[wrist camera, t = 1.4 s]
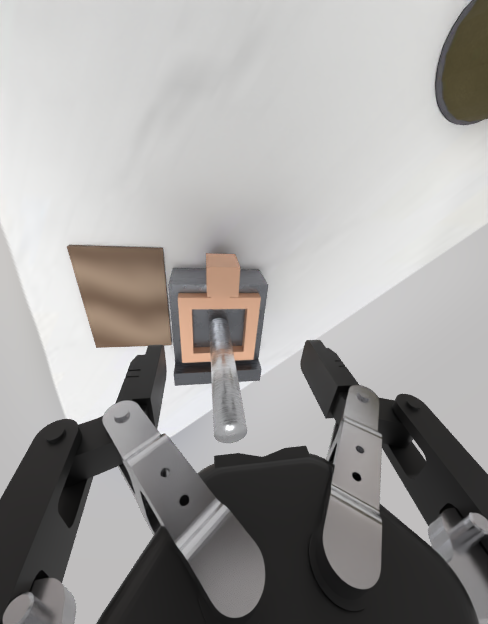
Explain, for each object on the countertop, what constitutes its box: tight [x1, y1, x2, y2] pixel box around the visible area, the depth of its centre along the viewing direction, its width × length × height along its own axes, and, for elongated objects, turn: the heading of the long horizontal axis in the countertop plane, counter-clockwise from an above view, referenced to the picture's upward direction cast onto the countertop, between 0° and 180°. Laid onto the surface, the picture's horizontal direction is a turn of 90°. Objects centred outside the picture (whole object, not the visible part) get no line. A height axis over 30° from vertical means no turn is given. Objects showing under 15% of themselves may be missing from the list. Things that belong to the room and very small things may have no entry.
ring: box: [178, 253, 261, 363], centre depth 27 cm, size 14×9×4 cm, turn 176°
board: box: [67, 245, 172, 348], centre depth 31 cm, size 14×10×1 cm
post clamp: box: [168, 268, 268, 443], centre depth 27 cm, size 15×11×19 cm
